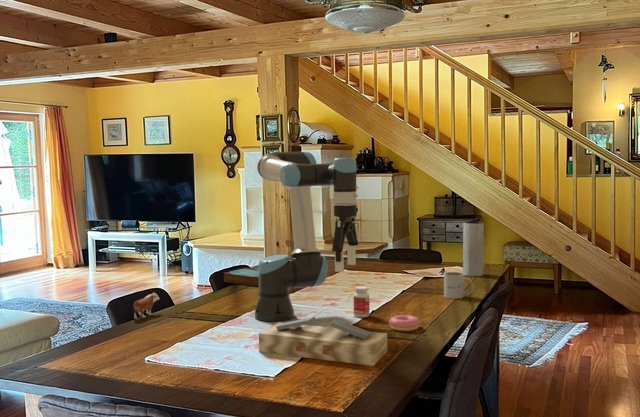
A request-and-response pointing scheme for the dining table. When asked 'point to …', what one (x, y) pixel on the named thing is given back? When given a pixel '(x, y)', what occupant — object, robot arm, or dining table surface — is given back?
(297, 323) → the rocker
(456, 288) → the mug
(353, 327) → the rocker
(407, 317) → the doughnut
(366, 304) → the pill bottle
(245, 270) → the book
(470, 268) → the vase
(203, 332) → the dining table surface
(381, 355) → the console
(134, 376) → the dining table surface
